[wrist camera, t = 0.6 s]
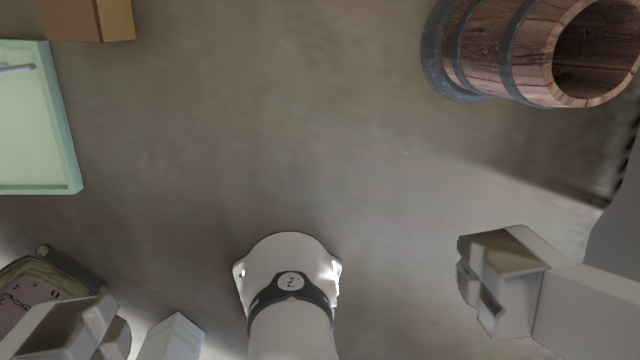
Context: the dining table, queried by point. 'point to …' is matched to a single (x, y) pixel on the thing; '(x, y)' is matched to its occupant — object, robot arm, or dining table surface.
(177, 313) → the white packaging box
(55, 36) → the kraft box
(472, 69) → the tankard
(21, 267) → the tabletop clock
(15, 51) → the dish rack
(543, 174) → the dining table surface
